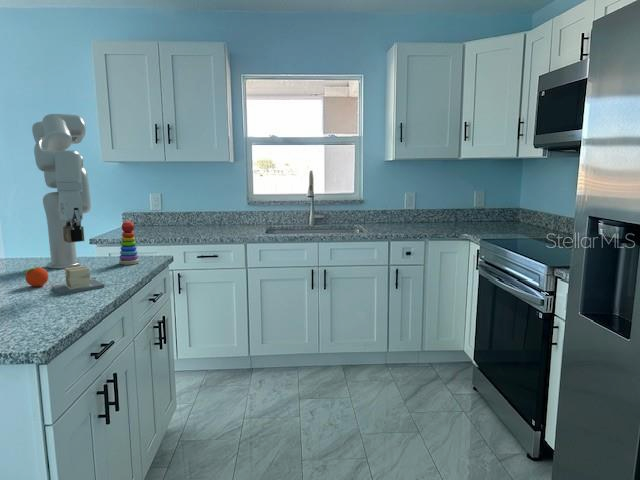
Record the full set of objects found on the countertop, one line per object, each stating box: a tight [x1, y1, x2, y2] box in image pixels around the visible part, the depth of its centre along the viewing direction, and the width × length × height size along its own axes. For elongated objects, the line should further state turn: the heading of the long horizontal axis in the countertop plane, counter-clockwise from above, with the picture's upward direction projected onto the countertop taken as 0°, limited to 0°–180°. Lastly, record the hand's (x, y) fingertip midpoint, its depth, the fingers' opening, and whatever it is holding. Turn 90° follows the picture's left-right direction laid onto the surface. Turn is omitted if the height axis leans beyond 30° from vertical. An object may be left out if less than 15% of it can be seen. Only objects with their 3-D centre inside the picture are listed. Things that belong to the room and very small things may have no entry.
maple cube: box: [64, 265, 91, 288], centre depth 155 cm, size 6×6×6 cm
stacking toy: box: [118, 220, 140, 266], centre depth 194 cm, size 8×8×19 cm
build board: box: [51, 279, 105, 296], centre depth 155 cm, size 10×14×1 cm
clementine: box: [22, 266, 49, 288], centre depth 157 cm, size 8×7×7 cm
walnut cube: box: [63, 225, 85, 243], centre depth 152 cm, size 5×5×5 cm
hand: (74, 239), depth 153 cm, fingers closed on walnut cube, 5 cm apart
